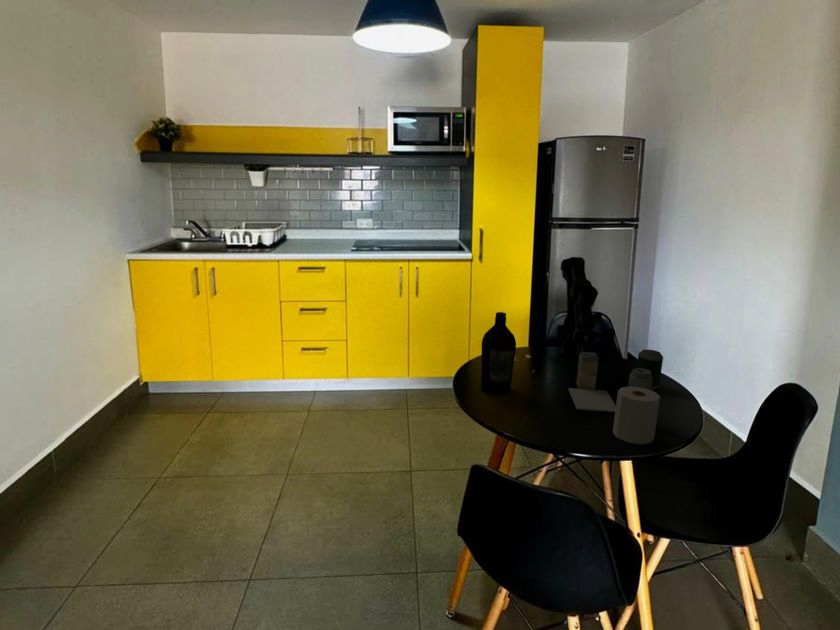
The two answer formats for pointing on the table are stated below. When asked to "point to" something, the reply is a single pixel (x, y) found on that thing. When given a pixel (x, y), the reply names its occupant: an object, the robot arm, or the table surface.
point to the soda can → (651, 364)
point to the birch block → (587, 370)
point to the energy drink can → (641, 378)
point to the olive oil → (497, 358)
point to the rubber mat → (592, 400)
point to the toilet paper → (636, 415)
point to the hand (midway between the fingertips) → (586, 356)
